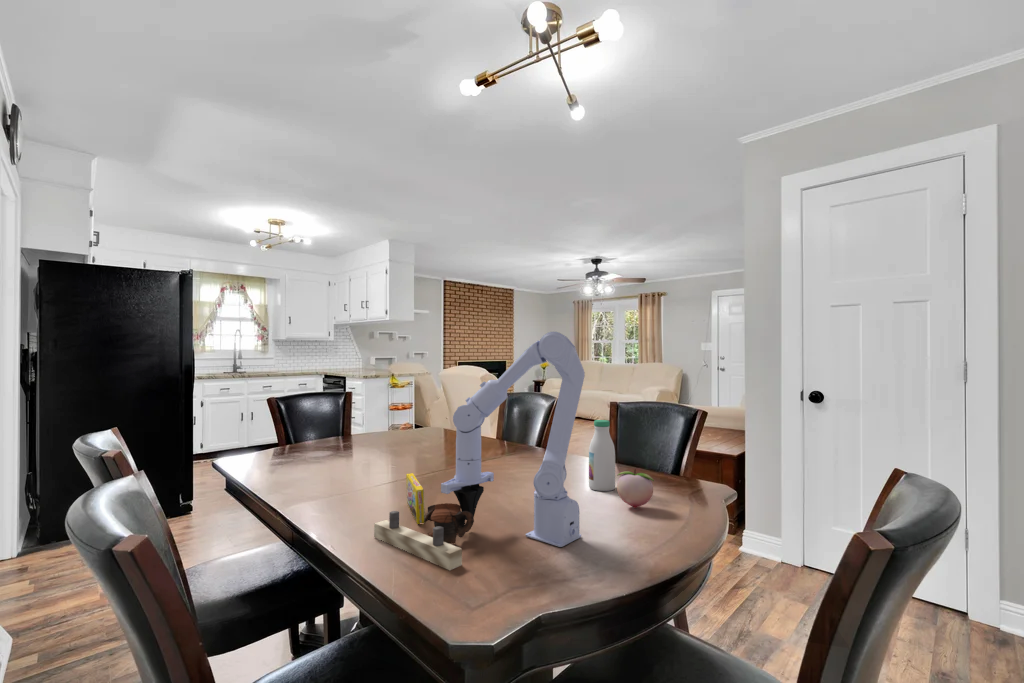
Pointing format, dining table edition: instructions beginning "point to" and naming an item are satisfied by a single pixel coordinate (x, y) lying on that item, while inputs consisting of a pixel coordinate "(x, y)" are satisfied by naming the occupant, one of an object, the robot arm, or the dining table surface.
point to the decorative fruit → (635, 488)
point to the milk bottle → (602, 458)
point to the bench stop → (419, 542)
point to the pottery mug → (449, 520)
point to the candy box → (415, 497)
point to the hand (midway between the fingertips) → (468, 519)
